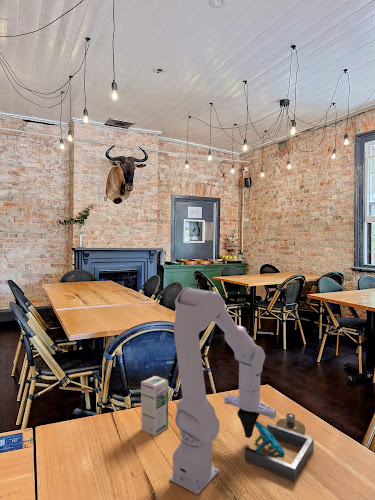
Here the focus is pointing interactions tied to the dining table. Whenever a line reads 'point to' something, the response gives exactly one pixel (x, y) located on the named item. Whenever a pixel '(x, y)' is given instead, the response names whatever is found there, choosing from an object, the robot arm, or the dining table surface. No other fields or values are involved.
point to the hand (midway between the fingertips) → (248, 436)
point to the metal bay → (277, 465)
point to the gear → (267, 439)
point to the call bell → (291, 424)
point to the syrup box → (154, 405)
